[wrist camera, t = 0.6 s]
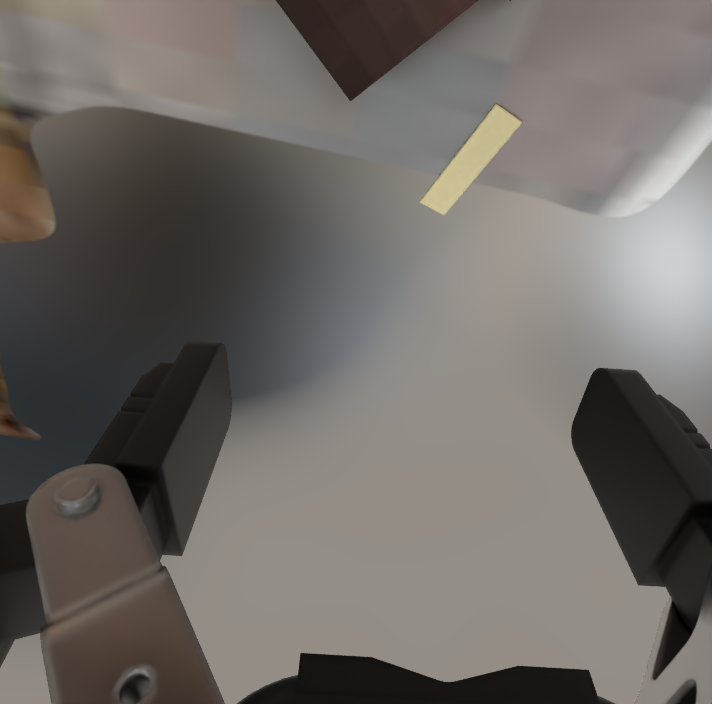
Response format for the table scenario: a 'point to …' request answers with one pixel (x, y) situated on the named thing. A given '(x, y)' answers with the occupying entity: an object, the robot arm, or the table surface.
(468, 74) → the table surface
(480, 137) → the tape mark
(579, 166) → the table surface
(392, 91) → the table surface
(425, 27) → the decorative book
